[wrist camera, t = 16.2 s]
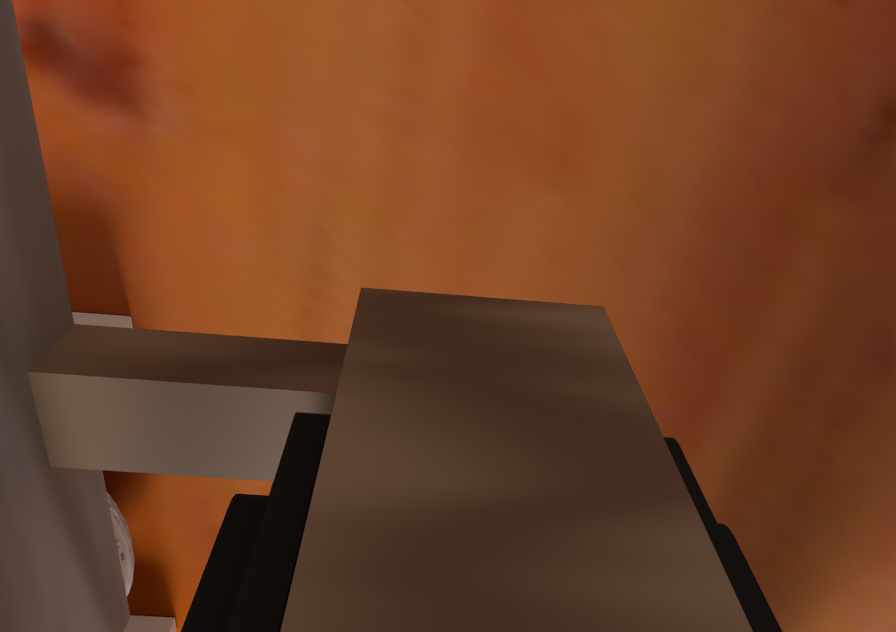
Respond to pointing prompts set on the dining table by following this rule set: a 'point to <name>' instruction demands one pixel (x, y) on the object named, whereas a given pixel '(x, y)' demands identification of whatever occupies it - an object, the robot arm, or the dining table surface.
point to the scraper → (345, 450)
